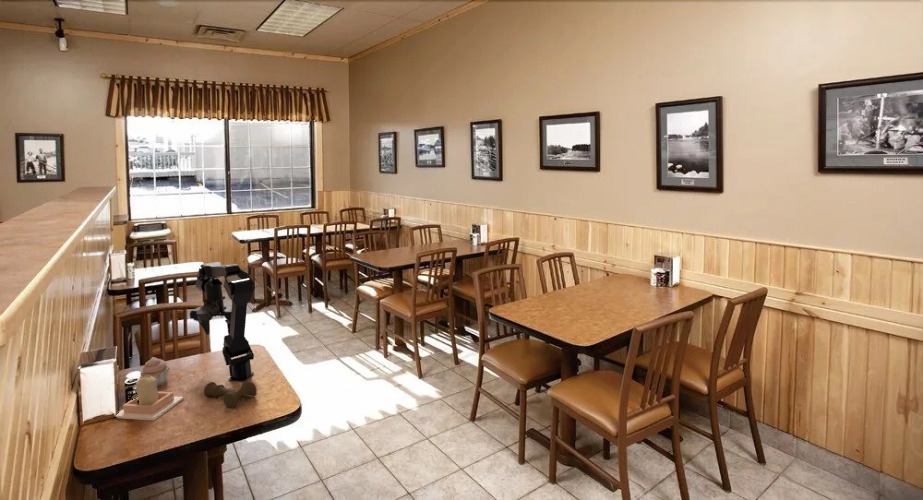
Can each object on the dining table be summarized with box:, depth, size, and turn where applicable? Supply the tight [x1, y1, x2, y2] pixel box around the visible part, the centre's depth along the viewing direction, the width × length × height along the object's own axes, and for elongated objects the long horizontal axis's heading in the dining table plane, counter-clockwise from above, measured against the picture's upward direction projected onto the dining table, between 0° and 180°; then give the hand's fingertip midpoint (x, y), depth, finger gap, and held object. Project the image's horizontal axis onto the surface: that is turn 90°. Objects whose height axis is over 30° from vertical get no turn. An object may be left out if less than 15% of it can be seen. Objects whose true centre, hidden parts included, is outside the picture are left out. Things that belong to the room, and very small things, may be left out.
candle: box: [135, 375, 159, 405], centre depth 170 cm, size 6×6×10 cm
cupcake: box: [139, 356, 171, 387], centre depth 188 cm, size 9×9×10 cm
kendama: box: [203, 380, 258, 410], centre depth 175 cm, size 6×10×20 cm
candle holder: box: [116, 391, 185, 421], centre depth 171 cm, size 14×14×3 cm
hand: (218, 334), depth 202 cm, fingers open, 9 cm apart
